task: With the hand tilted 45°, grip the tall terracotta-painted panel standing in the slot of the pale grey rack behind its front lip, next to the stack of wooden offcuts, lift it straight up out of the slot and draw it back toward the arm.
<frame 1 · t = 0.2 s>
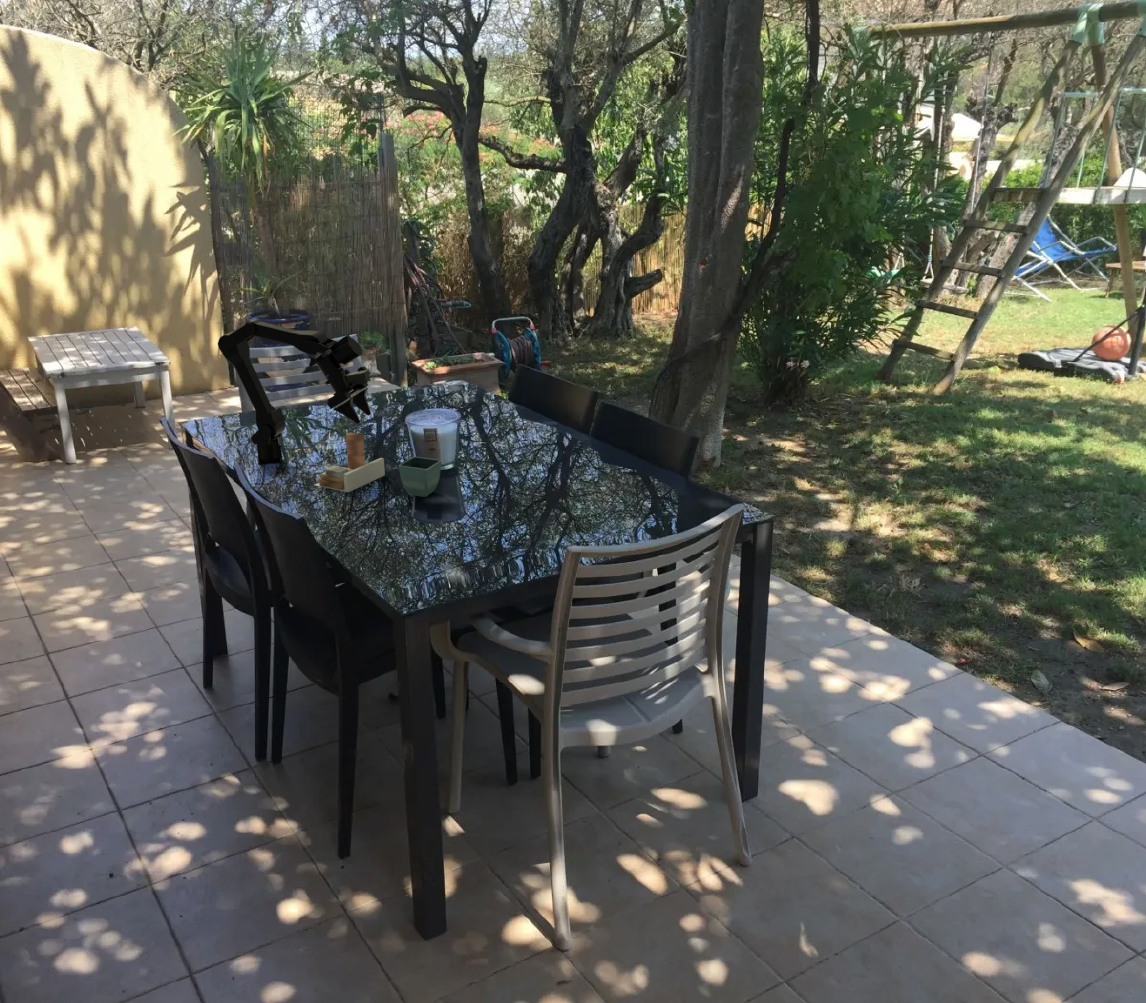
hand: (364, 418, 286), 15 cm above the table, tool tilted 30°, fingers open, 9 cm apart
flower pot: (421, 494, 270), on the table
rack: (357, 478, 282), on the table
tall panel: (357, 474, 281), point 1 cm above the table, touching rack
offcut stack: (336, 484, 273), point 1 cm above the table, touching rack
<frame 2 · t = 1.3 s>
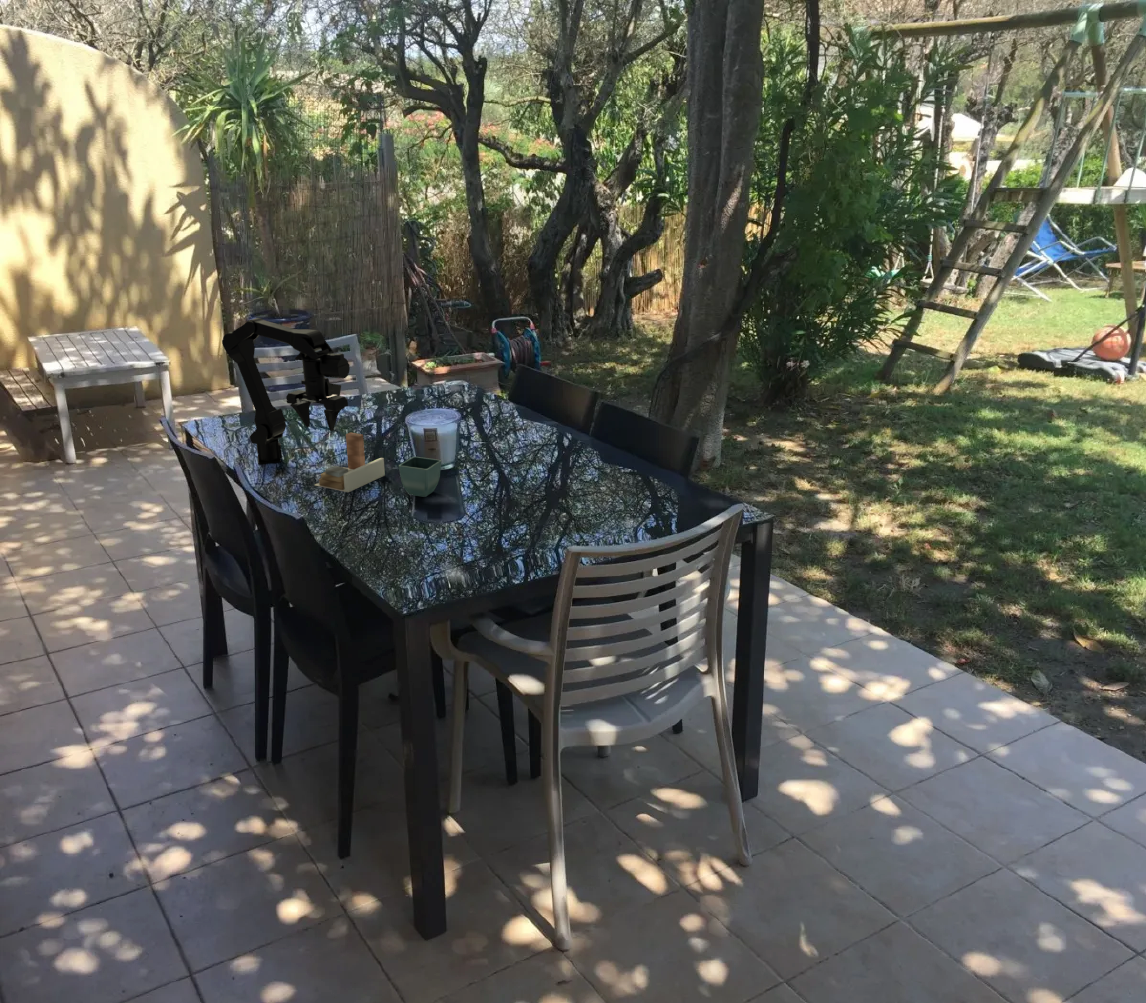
hand: (319, 428, 285), 12 cm above the table, tool pointing down, fingers open, 9 cm apart
nothing on the table moved.
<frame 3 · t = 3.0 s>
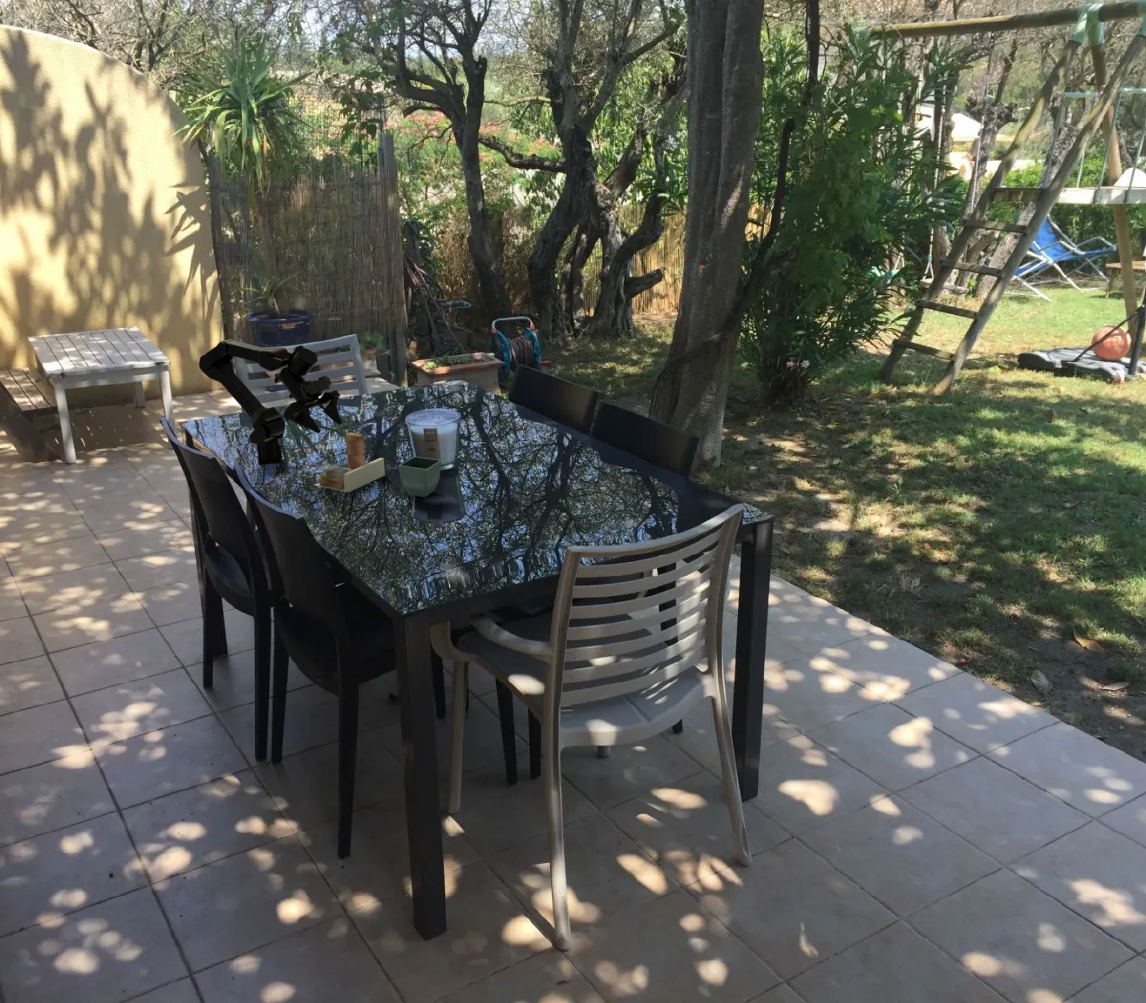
hand: (330, 428, 280), 14 cm above the table, tool tilted 45°, fingers open, 9 cm apart
nothing on the table moved.
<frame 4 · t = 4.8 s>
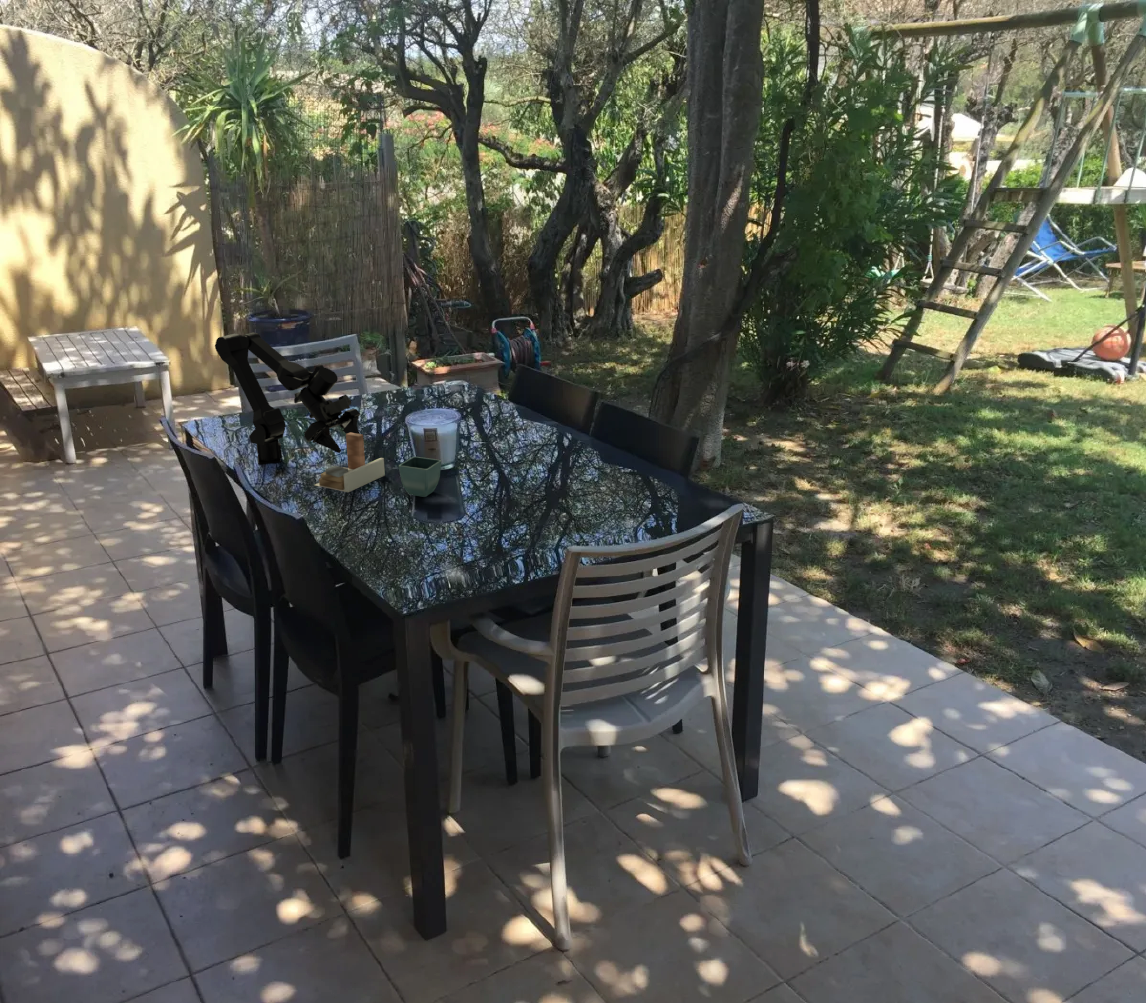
hand: (350, 447, 279), 9 cm above the table, tool tilted 45°, fingers open, 9 cm apart
nothing on the table moved.
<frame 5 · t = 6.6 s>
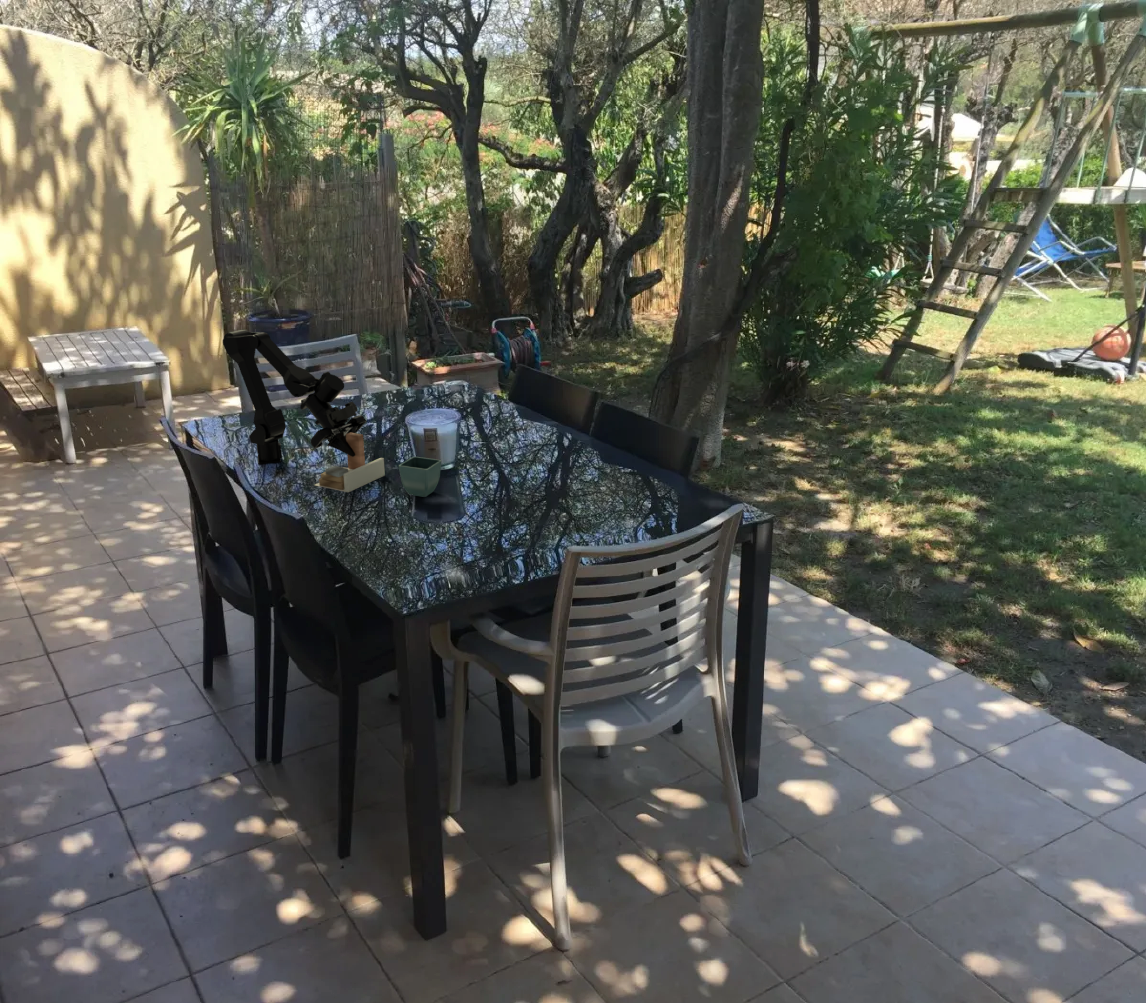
hand: (356, 454, 279), 7 cm above the table, tool tilted 45°, fingers closed on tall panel, 2 cm apart
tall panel: (357, 474, 281), point 1 cm above the table, touching gripper, rack
everything else where it was.
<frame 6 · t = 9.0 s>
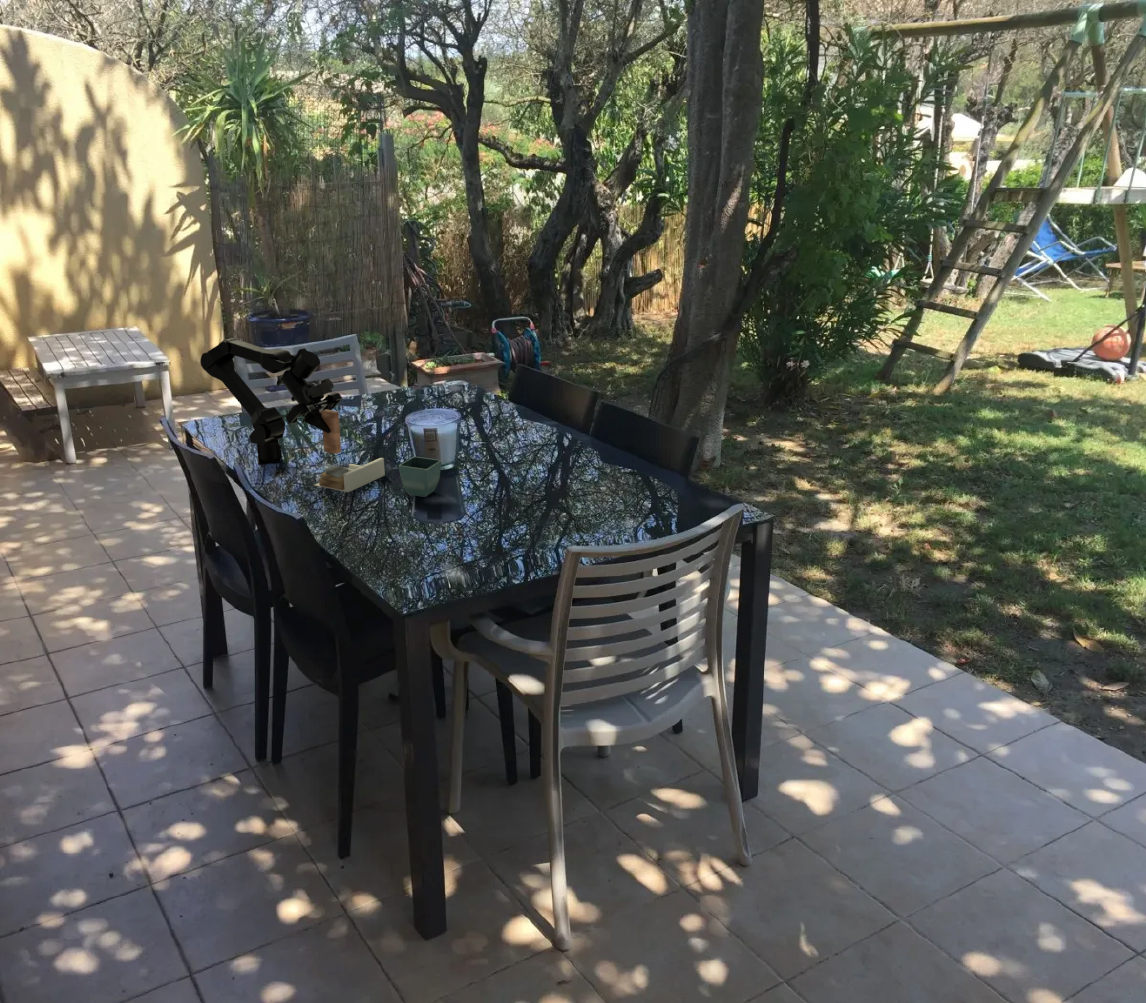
hand: (332, 431, 280), 13 cm above the table, tool tilted 45°, fingers closed on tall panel
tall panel: (332, 451, 283), point 7 cm above the table, touching gripper
everything else where it was.
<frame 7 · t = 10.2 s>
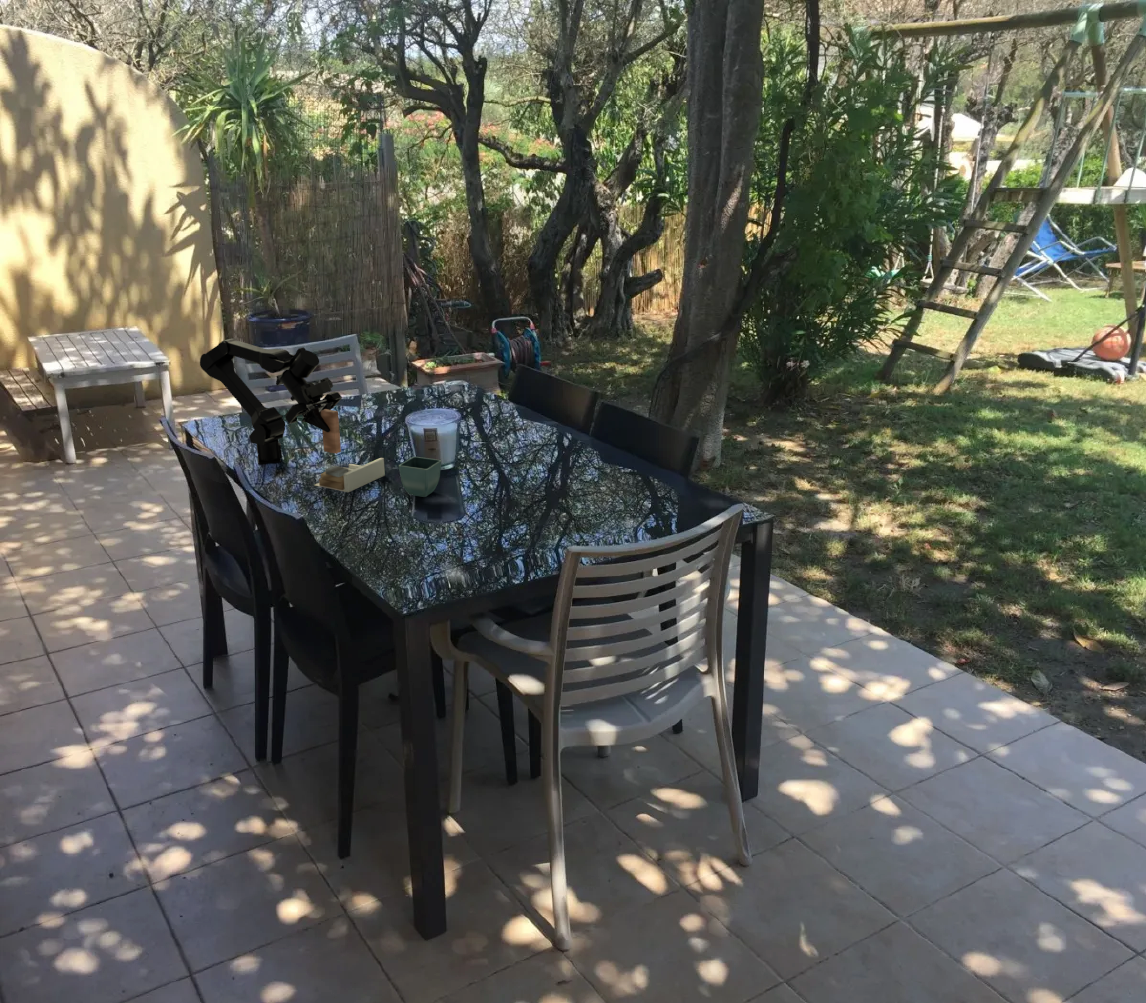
hand: (331, 430, 280), 13 cm above the table, tool tilted 45°, fingers closed on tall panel
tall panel: (332, 451, 283), point 7 cm above the table, touching gripper
everything else where it was.
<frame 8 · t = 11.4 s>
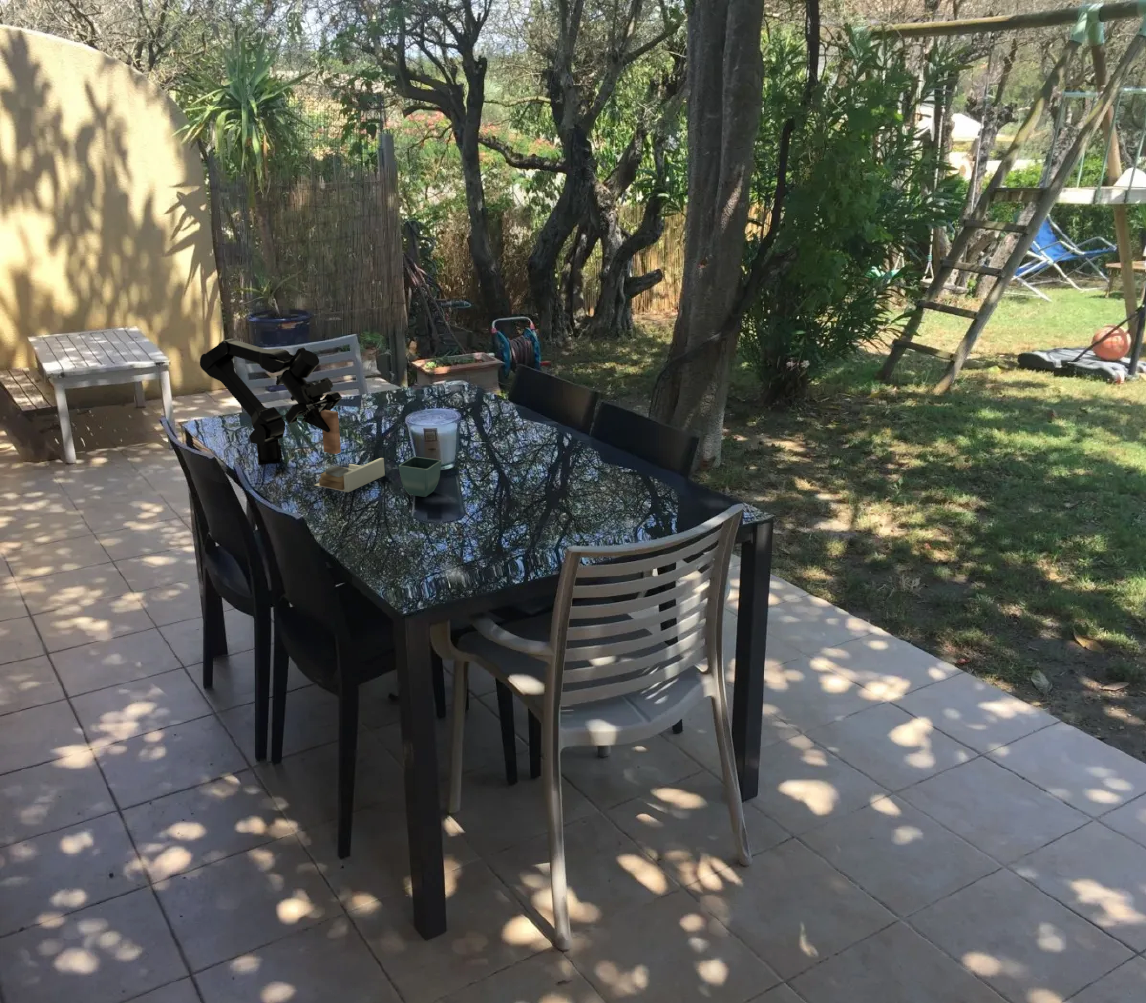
hand: (331, 430, 280), 13 cm above the table, tool tilted 45°, fingers closed on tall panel
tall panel: (332, 452, 283), point 6 cm above the table, touching gripper
everything else where it was.
at the end: the gripper is holding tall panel; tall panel point 6.5 cm above the table; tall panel touching gripper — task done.
